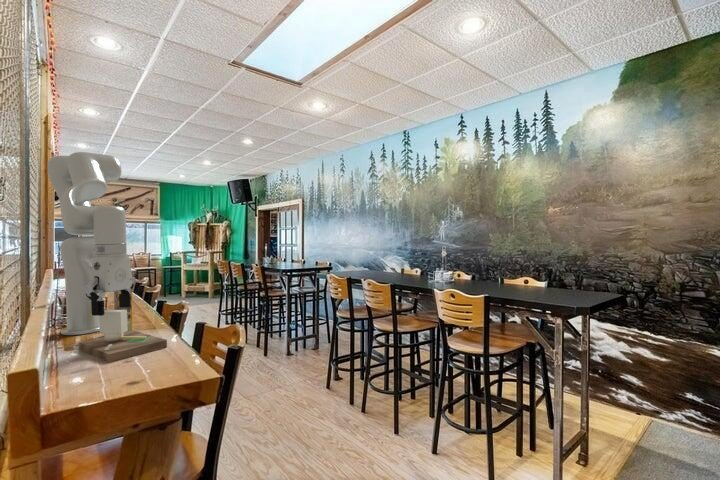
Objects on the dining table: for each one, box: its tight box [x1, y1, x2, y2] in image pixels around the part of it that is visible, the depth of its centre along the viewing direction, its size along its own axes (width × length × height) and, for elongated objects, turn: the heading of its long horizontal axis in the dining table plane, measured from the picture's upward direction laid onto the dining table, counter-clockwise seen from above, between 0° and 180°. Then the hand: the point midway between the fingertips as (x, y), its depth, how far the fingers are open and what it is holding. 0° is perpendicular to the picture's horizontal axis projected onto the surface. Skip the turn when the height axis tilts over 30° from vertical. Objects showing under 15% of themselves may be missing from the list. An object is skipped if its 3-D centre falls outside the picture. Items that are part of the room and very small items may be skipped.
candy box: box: [113, 291, 133, 333], centre depth 116 cm, size 9×4×15 cm, turn 39°
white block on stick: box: [99, 309, 147, 342], centre depth 101 cm, size 13×4×8 cm, turn 85°
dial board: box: [78, 330, 168, 363], centre depth 100 cm, size 20×14×2 cm
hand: (112, 311), depth 102 cm, fingers open, 9 cm apart
